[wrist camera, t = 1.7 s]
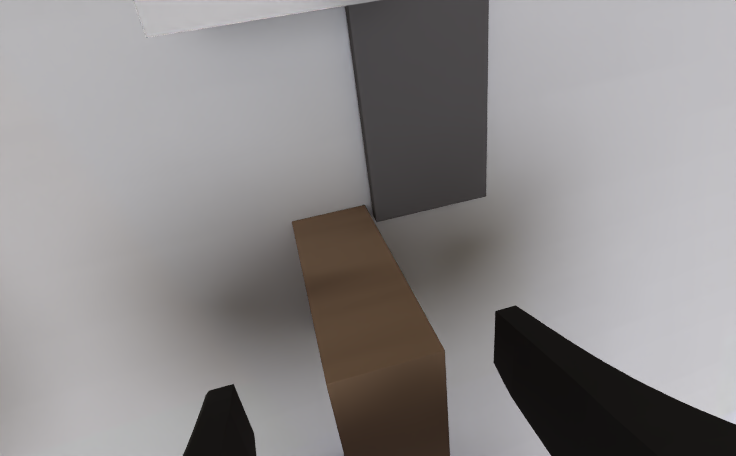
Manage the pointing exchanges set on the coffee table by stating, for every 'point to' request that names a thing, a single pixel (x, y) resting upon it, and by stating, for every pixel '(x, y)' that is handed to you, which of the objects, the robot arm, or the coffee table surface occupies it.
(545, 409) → the robot arm
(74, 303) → the coffee table surface
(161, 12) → the tile
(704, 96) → the coffee table surface
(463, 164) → the pad
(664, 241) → the coffee table surface
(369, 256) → the brown wooden block
